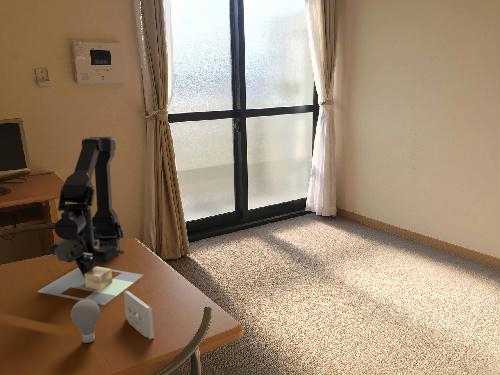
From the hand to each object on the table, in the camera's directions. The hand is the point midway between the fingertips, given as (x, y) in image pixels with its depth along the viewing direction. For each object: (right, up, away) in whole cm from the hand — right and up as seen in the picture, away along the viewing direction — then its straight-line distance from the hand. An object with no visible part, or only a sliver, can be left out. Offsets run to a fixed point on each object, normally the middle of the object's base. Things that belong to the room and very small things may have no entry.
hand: (86, 278), depth 118 cm
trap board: (+2, -3, 0) cm, 3 cm away
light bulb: (+10, -9, -24) cm, 28 cm away
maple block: (+4, -1, -1) cm, 4 cm away
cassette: (+20, -8, -19) cm, 29 cm away
